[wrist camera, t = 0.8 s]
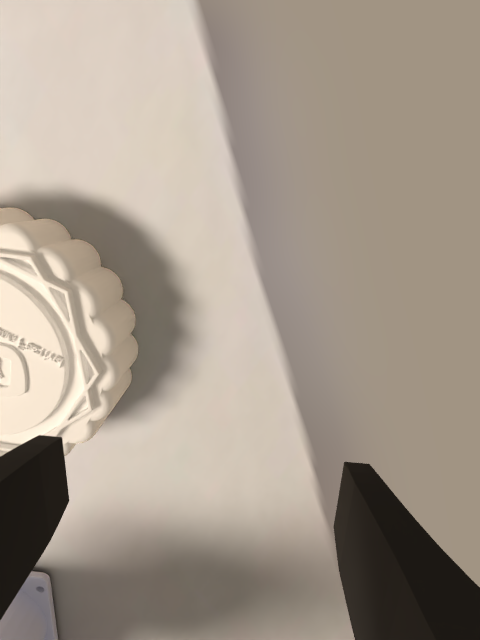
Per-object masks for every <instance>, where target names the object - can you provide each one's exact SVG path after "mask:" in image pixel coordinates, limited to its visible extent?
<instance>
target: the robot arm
mask: <svg viewBox="0 0 480 640" xmlns="http://www.w3.org/2000/svg"><path fill="white" fill-rule="evenodd" d="M68 502H69V495H68V486H67V477H66V468H65V459H64V450H63V441H62V437H55V436H44V435H38V436H36V437H34V438H32V439H30V440H29V441H27V442H25V443H23V444H21V445H19V446H18V447H16V448H14V449H12V450H11V451H9V452H7V453H5V454H4V455H2V456H0V640H58V634H57V627H56V619H55V612H54V604H53V597H52V589H51V582H50V577H49V576H48V575H47V574H46V573H43V572H35V571H32V570H33V568H34V566H35V565H36V563H37V562H38V560H39V558H40V557H41V555H42V553H43V552H44V550H45V549H46V547H47V545H48V544H49V542H50V540H51V538H52V536H53V534H54V532H55V530H56V528H57V526H58V524H59V522H60V520H61V518H62V515H63V513H64V511H65V509H66V507H67V505H68ZM334 533H335V542H336V550H337V558H338V566H339V572H340V577H341V581H342V586H343V590H344V594H345V599H346V603H347V607H348V612H349V616H350V620H351V625H352V629H353V633H354V637H355V640H480V587H478V586H477V585H476V584H475V583H474V582H473V581H472V580H471V579H470V578H469V577H468V576H467V575H466V574H465V573H464V571H463V570H462V569H461V568H460V567H459V566H458V565H457V564H456V563H455V562H454V561H453V560H452V559H451V558H450V557H449V556H448V555H447V554H446V553H445V552H444V551H443V550H442V549H441V548H440V547H439V545H437V543H436V542H435V541H434V540H433V539H432V538H431V537H430V535H429V534H428V533H427V532H426V531H425V530H424V529H423V528H422V527H421V526H420V524H419V523H418V522H417V521H416V520H415V518H414V517H413V516H412V515H411V514H410V513H409V511H408V510H407V509H406V508H405V507H404V505H403V504H402V503H401V502H400V501H399V500H398V498H397V497H396V496H395V495H394V493H393V492H392V491H391V490H390V489H389V487H388V486H387V485H386V484H385V482H384V481H383V480H382V479H381V478H380V476H379V475H378V474H377V473H376V472H375V470H374V469H373V468H372V467H371V466H370V464H363V463H351V462H344V467H343V473H342V479H341V486H340V491H339V498H338V504H337V510H336V516H335V522H334Z"/></svg>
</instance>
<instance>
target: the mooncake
mask: <svg viewBox="0 0 480 640" xmlns="http://www.w3.org/2000/svg"><path fill="white" fill-rule="evenodd" d="M122 295H123V286H122V283H121V281H120V279H119V277H118V276H117V275H116V274H115V273H114V272H113V271H111V270H110V269H108V268H105V267H101V259H100V256H99V254H98V252H97V251H96V249H95V248H94V247H93V246H92V245H91V244H89V243H88V242H86V241H83V240H79V239H71V236H70V234H69V232H68V231H67V229H66V228H65V227H64V226H63V225H62V224H60V223H59V222H57V221H55V220H52V219H37V220H34V219H33V217H32V216H31V215H30V214H28V213H27V212H25V211H24V210H21V209H18V208H0V456H2V455H4V454H5V453H7V452H9V451H11V450H12V449H14V448H16V447H18V446H19V445H21V444H23V443H25V442H27V441H29V440H30V439H32V438H34V437H36V436H38V435H44V436H55V437H62V441H63V450H64V456H66V455H67V454H68V453H69V452H70V451H71V450H72V449H73V447H74V446H75V445H76V443H83V442H86V441H88V440H90V439H91V438H92V437H93V436H94V435H95V434H96V432H97V431H98V429H99V428H100V426H101V425H102V424H103V422H104V421H105V419H106V418H107V417H108V415H109V414H110V412H111V411H112V410H113V408H114V407H115V405H116V404H117V402H118V401H119V399H120V398H121V397H122V395H123V394H124V392H125V391H126V390H127V388H128V387H129V385H130V383H131V380H132V373H131V370H130V366H131V365H132V364H133V363H134V361H135V360H136V358H137V356H138V344H137V341H136V339H135V338H134V337H133V335H132V334H131V332H132V331H133V329H134V327H135V323H136V318H135V313H134V311H133V309H132V308H131V306H130V305H129V304H128V303H127V302H125V301H124V300H122V299H121V298H122Z"/></svg>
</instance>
